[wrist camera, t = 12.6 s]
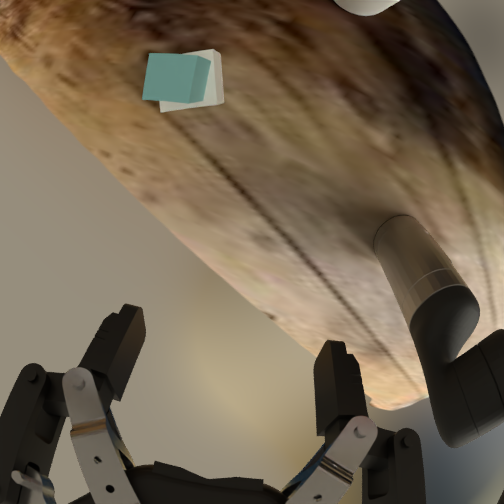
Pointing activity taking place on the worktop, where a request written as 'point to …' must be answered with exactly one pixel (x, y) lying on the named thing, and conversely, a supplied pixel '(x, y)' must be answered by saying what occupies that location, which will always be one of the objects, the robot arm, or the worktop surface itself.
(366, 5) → the mug
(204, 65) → the teal cube
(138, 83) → the worktop surface
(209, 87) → the pedestal block
